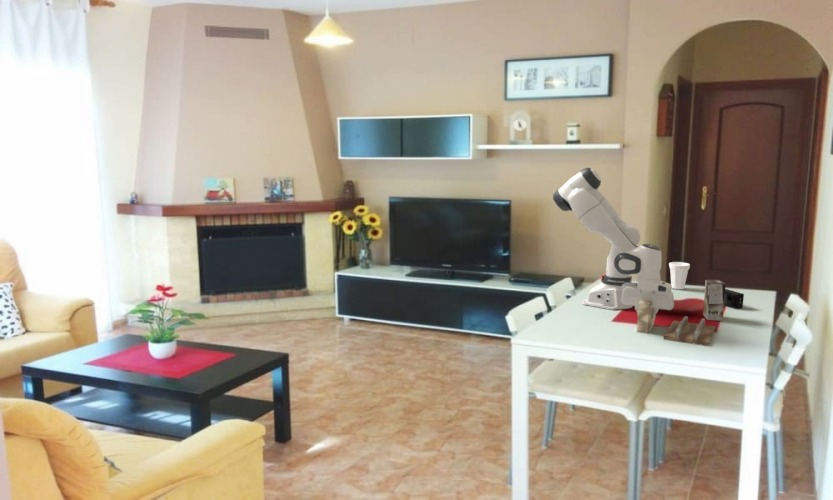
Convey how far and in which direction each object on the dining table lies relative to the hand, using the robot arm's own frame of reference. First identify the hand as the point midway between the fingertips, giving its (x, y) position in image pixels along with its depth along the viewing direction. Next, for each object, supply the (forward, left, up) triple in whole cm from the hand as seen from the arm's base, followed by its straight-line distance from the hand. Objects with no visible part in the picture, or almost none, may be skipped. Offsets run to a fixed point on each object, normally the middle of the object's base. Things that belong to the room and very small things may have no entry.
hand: (646, 317), depth 271 cm
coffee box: (+22, +31, -5) cm, 38 cm away
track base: (+17, 0, -4) cm, 18 cm away
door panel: (0, 0, -4) cm, 4 cm away
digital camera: (+26, +57, -5) cm, 63 cm away
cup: (0, +82, -5) cm, 82 cm away
